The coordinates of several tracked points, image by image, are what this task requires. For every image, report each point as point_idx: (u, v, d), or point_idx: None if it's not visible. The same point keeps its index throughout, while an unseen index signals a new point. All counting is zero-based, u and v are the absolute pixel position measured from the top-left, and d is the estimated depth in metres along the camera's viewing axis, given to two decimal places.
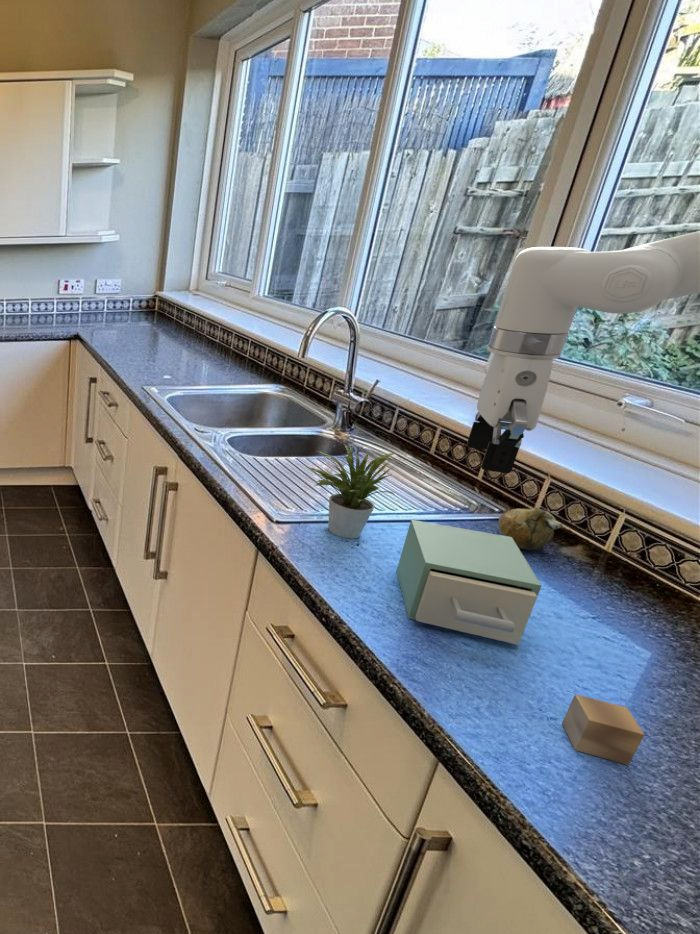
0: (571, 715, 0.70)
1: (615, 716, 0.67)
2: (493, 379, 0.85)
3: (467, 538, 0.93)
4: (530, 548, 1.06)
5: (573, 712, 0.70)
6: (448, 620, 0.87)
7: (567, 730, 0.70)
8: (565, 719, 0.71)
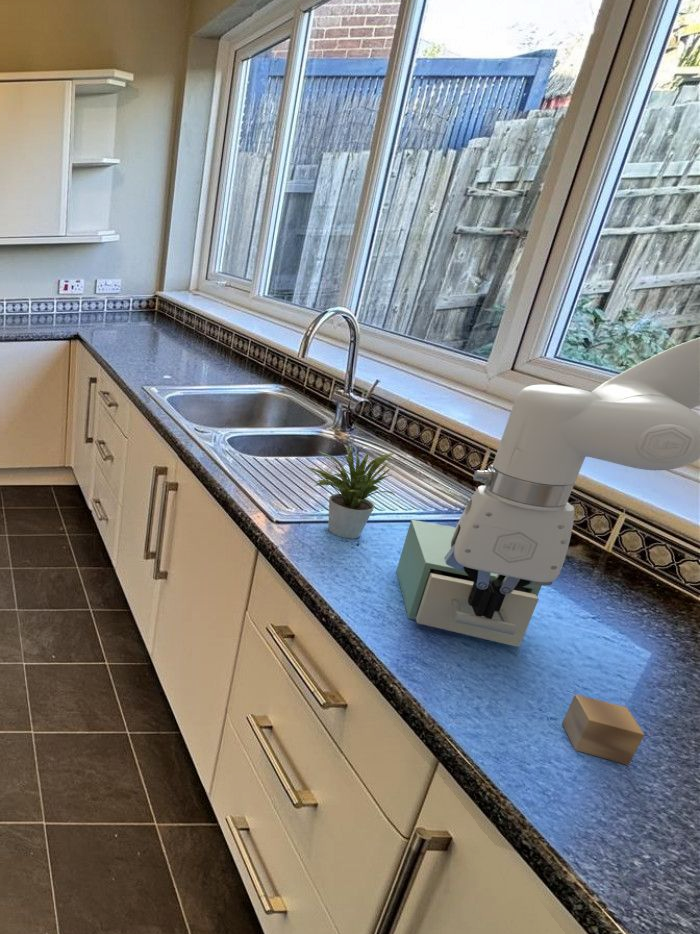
0: (571, 715, 0.70)
1: (615, 716, 0.67)
2: None
3: None
4: None
5: (573, 712, 0.70)
6: (449, 622, 0.86)
7: (567, 730, 0.70)
8: (565, 719, 0.71)
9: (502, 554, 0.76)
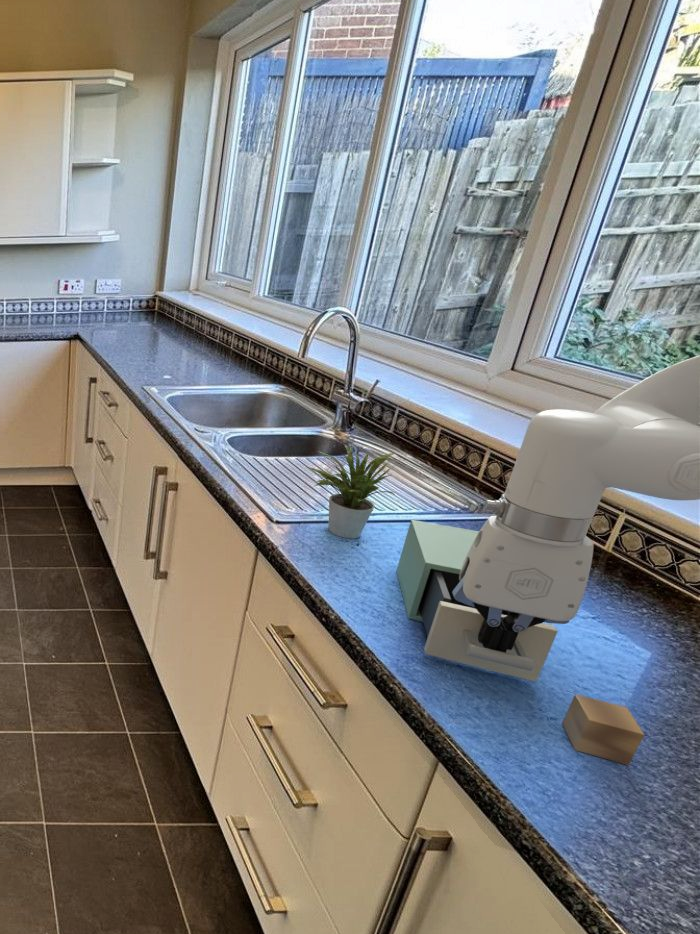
0: (571, 715, 0.70)
1: (615, 716, 0.67)
2: None
3: (467, 538, 0.93)
4: None
5: (573, 712, 0.70)
6: (460, 654, 0.80)
7: (567, 730, 0.70)
8: (565, 719, 0.71)
9: (515, 590, 0.71)
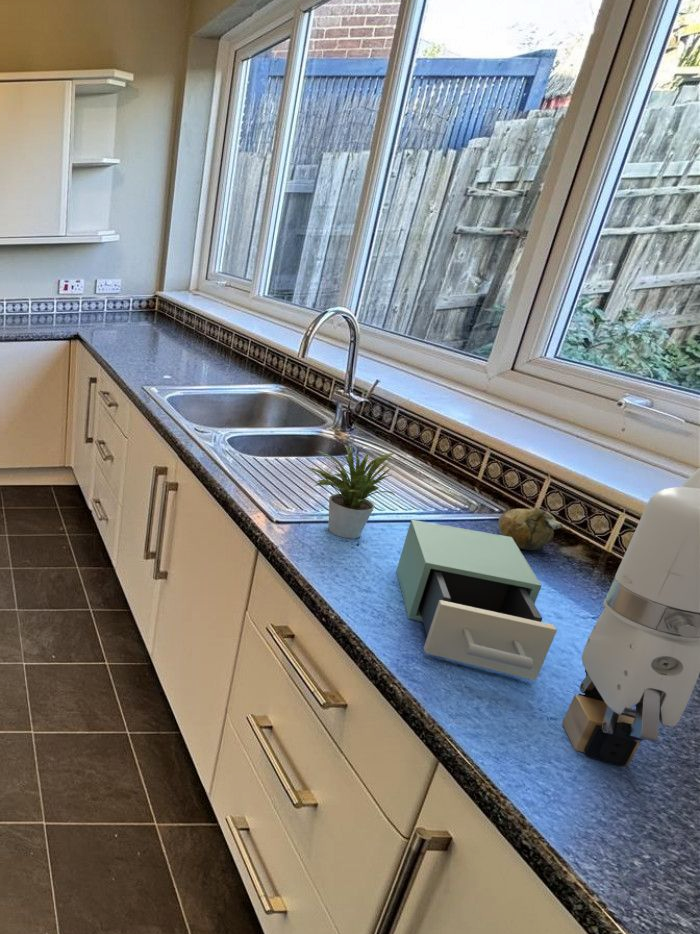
0: (571, 715, 0.70)
1: None
2: (614, 648, 0.64)
3: (467, 538, 0.93)
4: (530, 548, 1.06)
5: (573, 712, 0.70)
6: (459, 653, 0.80)
7: (567, 730, 0.70)
8: (565, 719, 0.71)
9: None
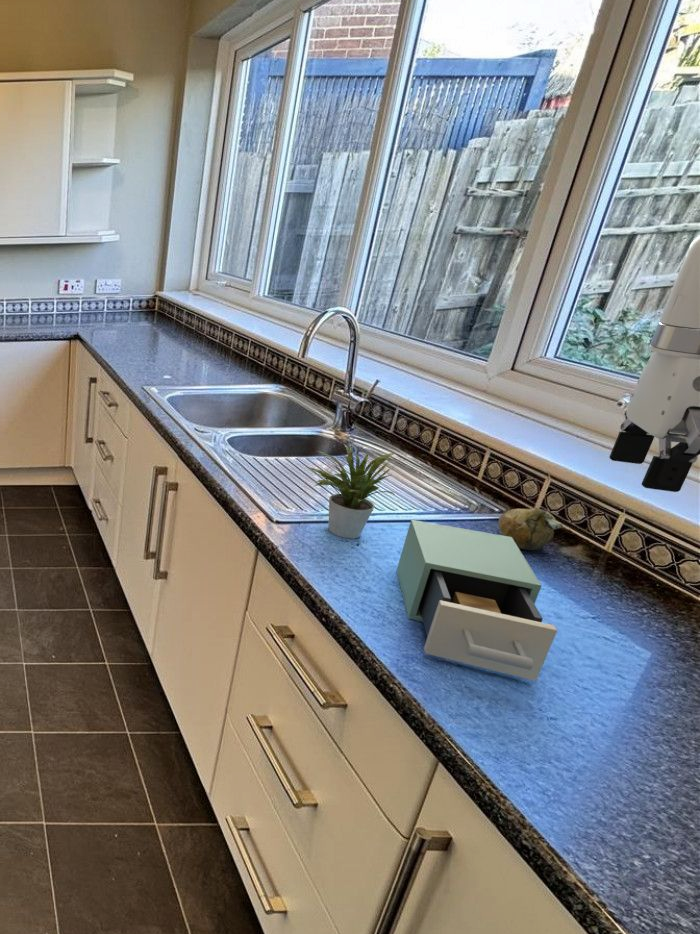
0: None
1: None
2: (658, 384, 0.74)
3: (467, 538, 0.93)
4: (530, 548, 1.06)
5: None
6: (459, 653, 0.80)
7: None
8: (455, 597, 0.85)
9: None
